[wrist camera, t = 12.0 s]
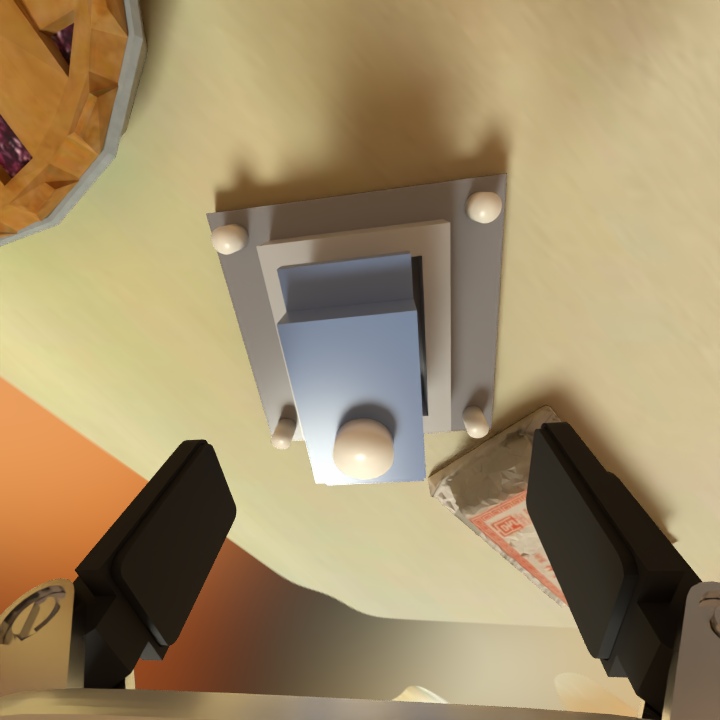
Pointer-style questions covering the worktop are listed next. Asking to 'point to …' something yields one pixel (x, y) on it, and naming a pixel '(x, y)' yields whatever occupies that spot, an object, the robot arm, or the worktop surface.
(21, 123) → the pie
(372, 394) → the block
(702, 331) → the worktop surface
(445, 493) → the packaged product
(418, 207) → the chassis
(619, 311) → the worktop surface
